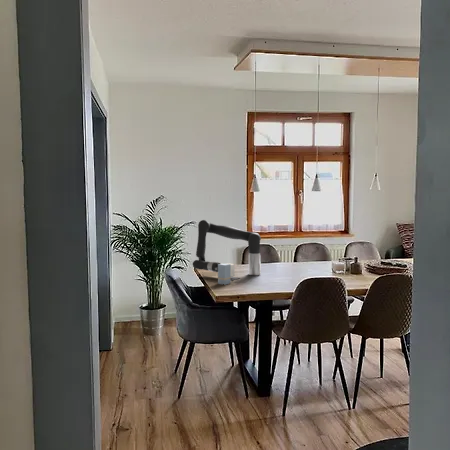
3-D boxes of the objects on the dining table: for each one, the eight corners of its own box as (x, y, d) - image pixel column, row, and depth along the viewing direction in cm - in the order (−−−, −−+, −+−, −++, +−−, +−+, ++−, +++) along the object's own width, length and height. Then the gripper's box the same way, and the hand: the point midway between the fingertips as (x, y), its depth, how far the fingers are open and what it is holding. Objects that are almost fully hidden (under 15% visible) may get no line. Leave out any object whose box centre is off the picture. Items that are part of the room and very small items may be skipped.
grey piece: (223, 282, 341) (223, 263, 340) (230, 283, 337) (230, 264, 336) (217, 283, 336) (217, 264, 335) (224, 284, 332) (224, 265, 331)
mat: (227, 276, 363) (227, 275, 363) (239, 278, 355) (239, 277, 355) (217, 278, 353) (217, 278, 353) (229, 280, 346) (229, 280, 346)
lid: (228, 275, 359) (228, 263, 358) (234, 276, 354) (234, 264, 354) (222, 276, 354) (222, 264, 353) (229, 277, 350) (229, 265, 349)
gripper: (208, 263, 357) (225, 265, 346) (220, 261, 368) (237, 263, 357) (208, 272, 358) (225, 275, 347) (220, 270, 369) (237, 272, 358)
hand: (231, 269), depth 352 cm, fingers closed on lid, 6 cm apart
